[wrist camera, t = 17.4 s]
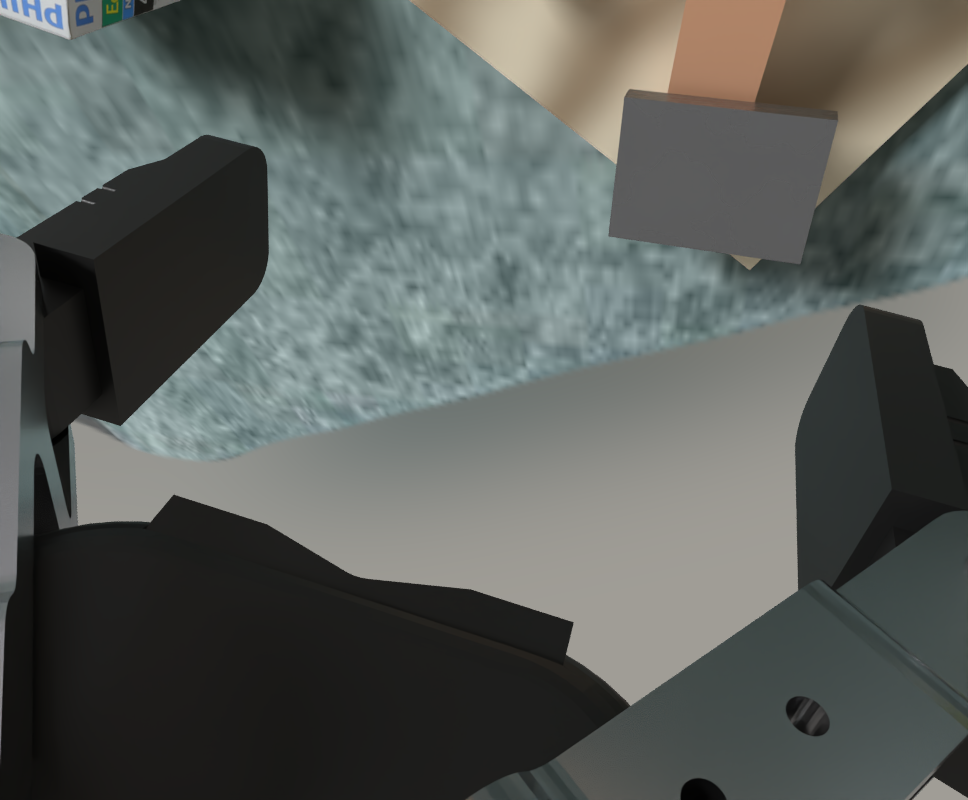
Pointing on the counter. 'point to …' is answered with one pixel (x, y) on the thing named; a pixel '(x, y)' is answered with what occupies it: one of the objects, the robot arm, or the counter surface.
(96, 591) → the robot arm
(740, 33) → the link
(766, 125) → the block
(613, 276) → the counter surface
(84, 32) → the light bulb box
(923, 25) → the board
